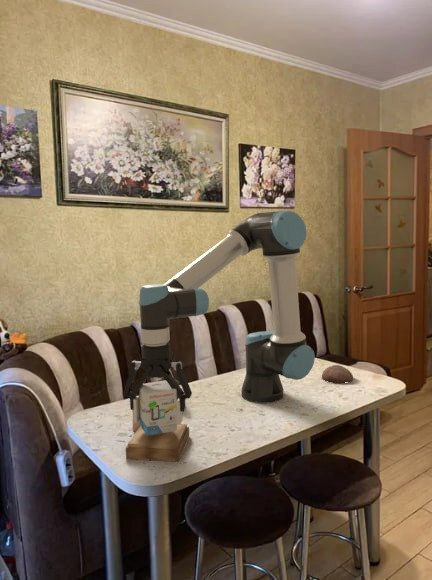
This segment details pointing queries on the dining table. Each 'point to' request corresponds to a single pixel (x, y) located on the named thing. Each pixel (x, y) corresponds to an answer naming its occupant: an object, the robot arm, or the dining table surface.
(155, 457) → the stand
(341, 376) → the decorative stone
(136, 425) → the peach domed cylinder
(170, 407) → the ink box
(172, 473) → the dining table surface
